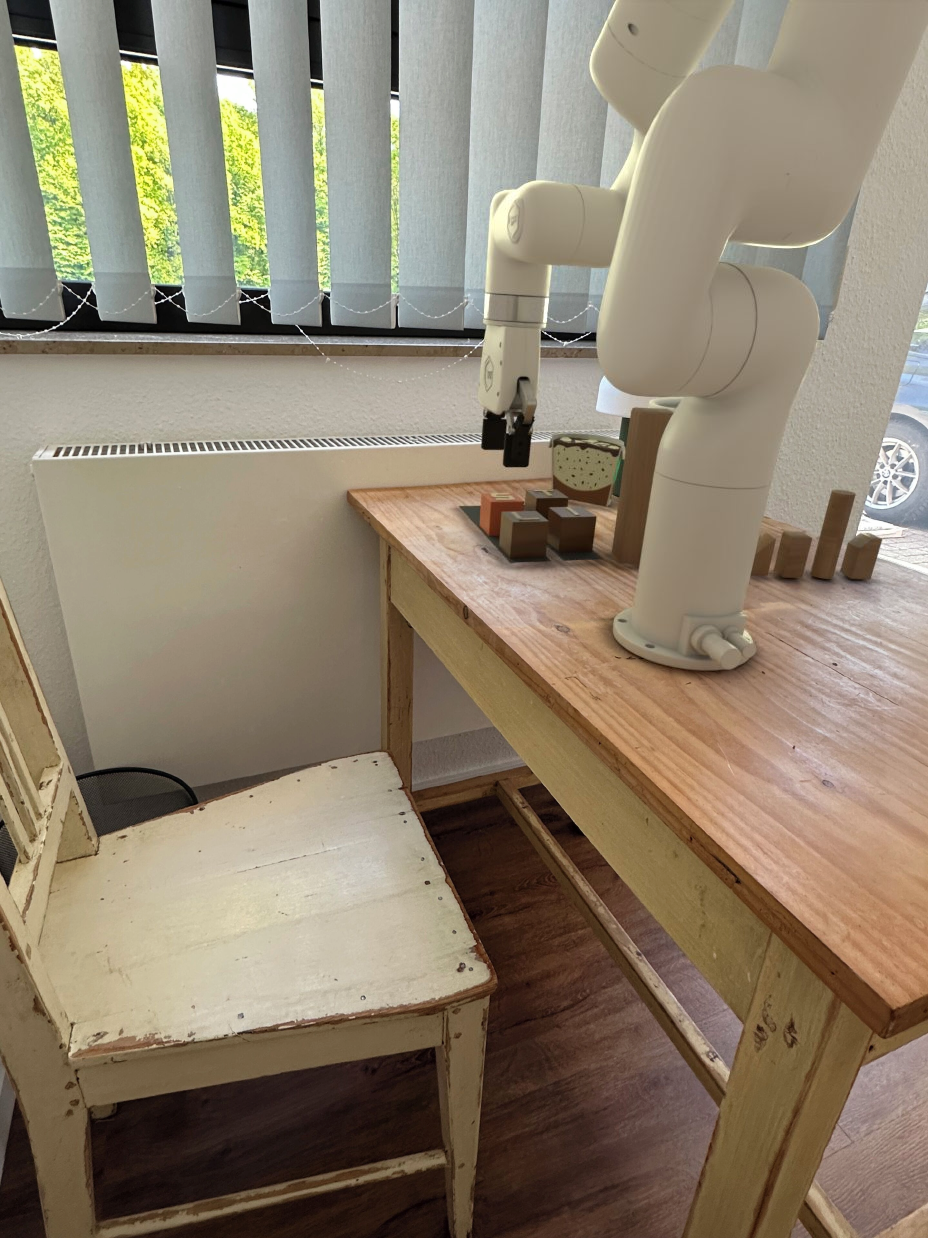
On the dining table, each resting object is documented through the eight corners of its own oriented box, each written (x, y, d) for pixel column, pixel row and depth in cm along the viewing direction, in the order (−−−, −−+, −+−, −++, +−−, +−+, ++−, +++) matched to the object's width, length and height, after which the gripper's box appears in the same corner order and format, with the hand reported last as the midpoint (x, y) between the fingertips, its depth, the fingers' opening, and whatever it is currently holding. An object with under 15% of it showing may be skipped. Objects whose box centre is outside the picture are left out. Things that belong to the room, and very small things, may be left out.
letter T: (565, 530, 97) (569, 496, 95) (533, 531, 96) (536, 497, 94) (553, 520, 101) (556, 488, 99) (522, 521, 99) (525, 488, 98)
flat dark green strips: (603, 563, 87) (604, 558, 86) (509, 567, 84) (510, 562, 83) (534, 508, 109) (534, 504, 108) (458, 509, 106) (458, 505, 105)
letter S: (521, 535, 94) (524, 500, 92) (488, 535, 93) (491, 501, 91) (511, 525, 98) (513, 491, 96) (479, 525, 96) (481, 492, 95)
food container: (630, 504, 114) (639, 440, 110) (615, 512, 109) (625, 445, 105) (559, 491, 119) (565, 429, 115) (543, 497, 115) (549, 434, 111)
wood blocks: (858, 574, 88) (882, 490, 83) (870, 581, 85) (896, 496, 81) (659, 570, 85) (674, 484, 81) (667, 578, 83) (682, 489, 79)
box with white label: (545, 557, 86) (549, 520, 84) (509, 559, 85) (512, 521, 83) (533, 545, 90) (536, 509, 88) (498, 546, 89) (501, 510, 87)
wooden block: (682, 558, 90) (708, 410, 82) (692, 571, 86) (721, 416, 78) (610, 555, 90) (630, 406, 82) (617, 567, 86) (639, 412, 78)
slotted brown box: (592, 551, 89) (596, 515, 87) (558, 552, 88) (562, 516, 86) (578, 540, 93) (582, 505, 91) (545, 541, 92) (549, 506, 90)
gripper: (466, 307, 91) (458, 443, 98) (507, 314, 76) (494, 474, 83) (522, 310, 93) (511, 443, 100) (572, 318, 78) (555, 474, 85)
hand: (503, 457), depth 92 cm, fingers open, 9 cm apart
